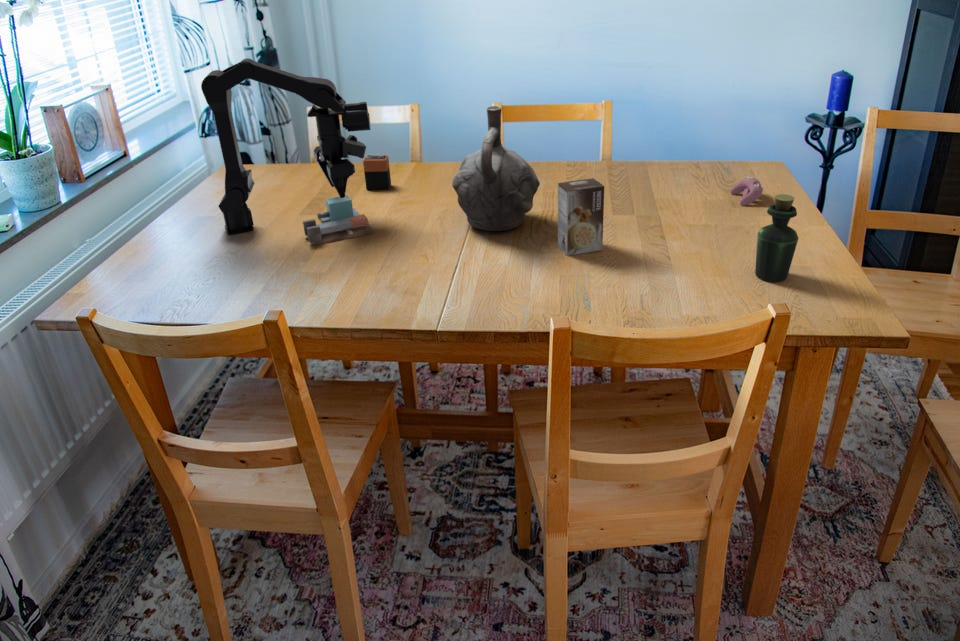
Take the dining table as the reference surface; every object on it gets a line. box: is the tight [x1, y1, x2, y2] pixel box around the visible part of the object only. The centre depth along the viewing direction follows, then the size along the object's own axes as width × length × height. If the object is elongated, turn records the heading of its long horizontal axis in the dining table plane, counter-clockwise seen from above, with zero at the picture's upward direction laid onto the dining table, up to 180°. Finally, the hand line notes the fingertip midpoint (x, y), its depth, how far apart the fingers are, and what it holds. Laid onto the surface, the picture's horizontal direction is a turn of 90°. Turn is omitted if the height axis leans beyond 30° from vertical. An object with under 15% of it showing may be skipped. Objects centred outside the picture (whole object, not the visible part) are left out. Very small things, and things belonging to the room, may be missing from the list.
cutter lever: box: [311, 213, 369, 234], centre depth 190 cm, size 15×3×2 cm, turn 113°
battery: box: [362, 153, 392, 191], centre depth 218 cm, size 4×7×10 cm, turn 86°
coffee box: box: [557, 177, 605, 256], centre depth 175 cm, size 9×6×16 cm
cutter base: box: [302, 218, 375, 246], centre depth 190 cm, size 16×6×4 cm, turn 113°
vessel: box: [451, 105, 541, 232], centre depth 185 cm, size 24×22×30 cm
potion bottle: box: [754, 193, 799, 283], centre depth 158 cm, size 8×8×18 cm
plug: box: [316, 194, 354, 222], centre depth 197 cm, size 9×4×5 cm, turn 114°
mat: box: [319, 207, 361, 224], centre depth 199 cm, size 10×10×1 cm
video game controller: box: [730, 176, 763, 207], centre depth 201 cm, size 10×5×7 cm, turn 0°
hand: (338, 191), depth 195 cm, fingers open, 9 cm apart
